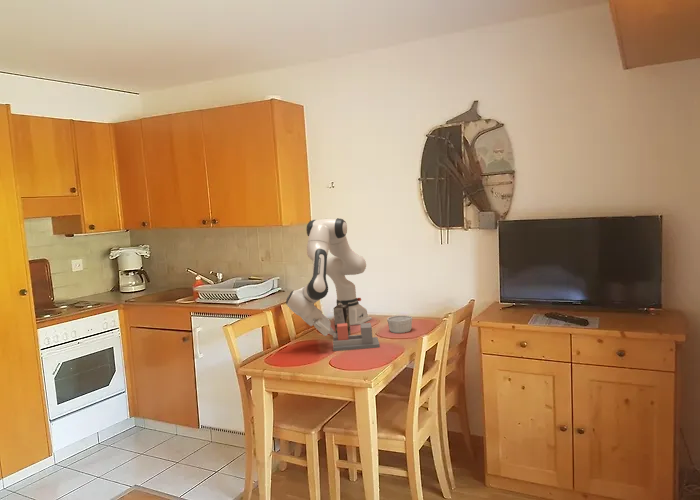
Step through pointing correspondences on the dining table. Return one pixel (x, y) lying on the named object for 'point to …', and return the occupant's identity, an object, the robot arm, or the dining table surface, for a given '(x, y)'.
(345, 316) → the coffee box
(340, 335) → the red upright block
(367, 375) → the dining table surface
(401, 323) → the ramekin
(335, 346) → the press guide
